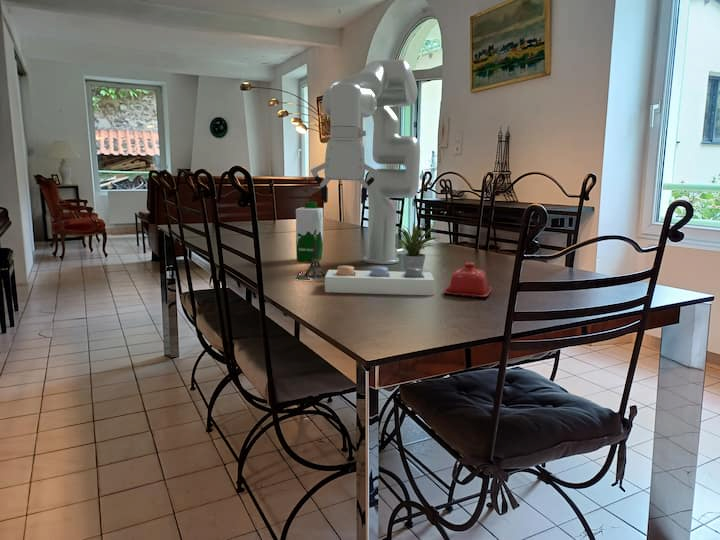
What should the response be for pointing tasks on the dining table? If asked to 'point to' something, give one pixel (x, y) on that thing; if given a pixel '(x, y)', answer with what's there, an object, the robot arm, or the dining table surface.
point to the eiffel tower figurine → (313, 267)
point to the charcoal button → (413, 272)
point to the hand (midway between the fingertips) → (344, 203)
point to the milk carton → (309, 231)
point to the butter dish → (468, 282)
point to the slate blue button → (379, 271)
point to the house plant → (414, 247)
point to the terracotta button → (345, 271)
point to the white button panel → (379, 283)
